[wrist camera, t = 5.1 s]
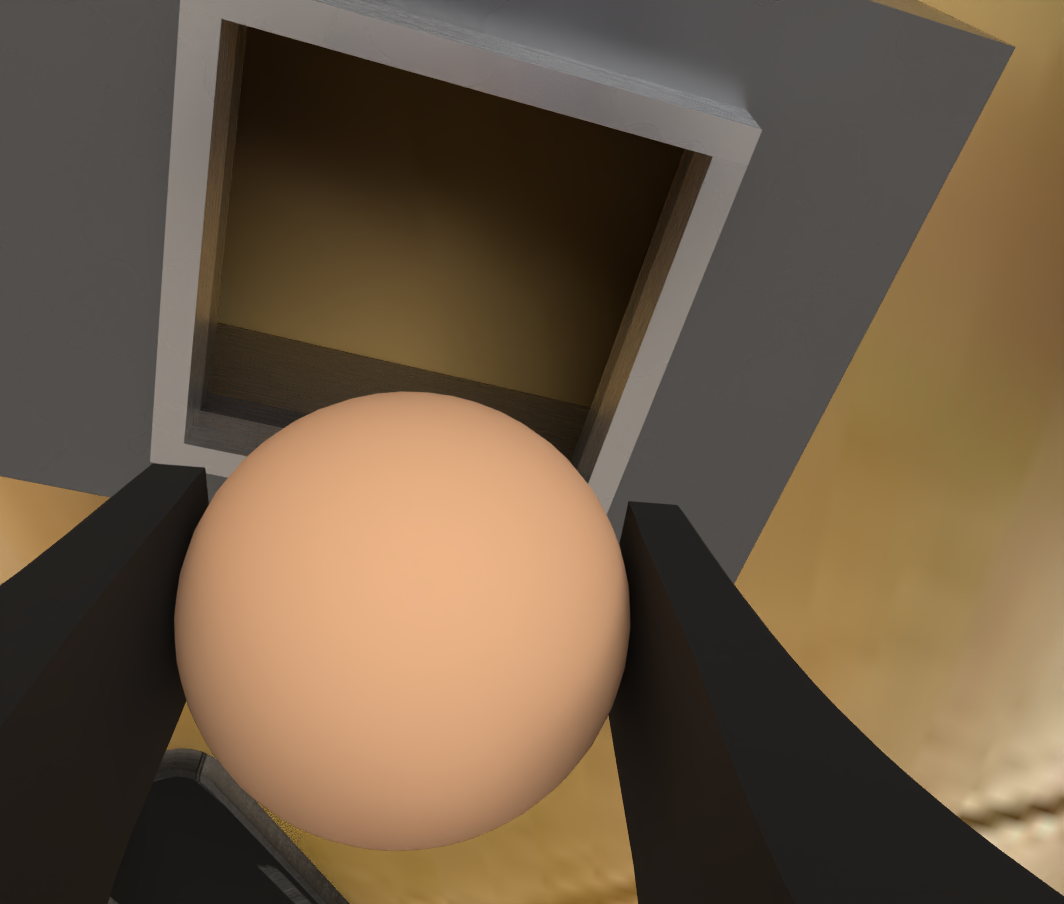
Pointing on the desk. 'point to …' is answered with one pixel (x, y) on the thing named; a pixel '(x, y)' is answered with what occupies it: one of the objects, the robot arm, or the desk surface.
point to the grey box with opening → (520, 75)
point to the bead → (402, 621)
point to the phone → (211, 845)
